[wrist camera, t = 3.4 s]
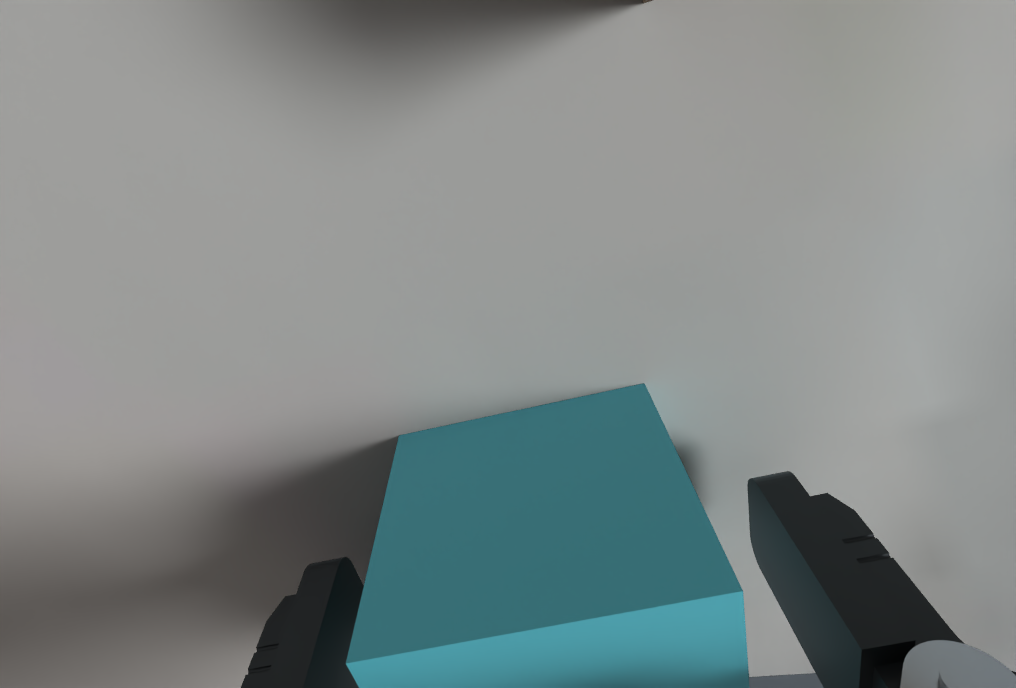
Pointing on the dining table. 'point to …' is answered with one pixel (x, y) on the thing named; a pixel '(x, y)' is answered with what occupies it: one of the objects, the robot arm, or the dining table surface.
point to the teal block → (548, 558)
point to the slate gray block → (786, 681)
